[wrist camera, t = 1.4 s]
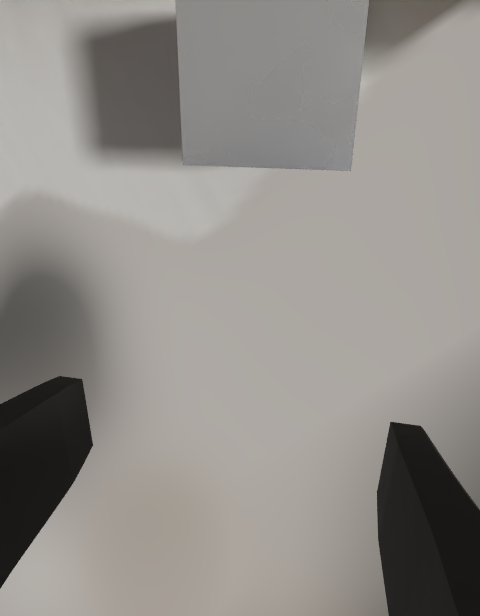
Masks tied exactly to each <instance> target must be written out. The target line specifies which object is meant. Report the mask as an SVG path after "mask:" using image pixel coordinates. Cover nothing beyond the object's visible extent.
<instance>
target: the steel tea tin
mask: <svg viewBox="0 0 480 616" xmlns="http://www.w3.org/2000/svg"><path fill="white" fill-rule="evenodd" d="M368 7H369V0H176V23H177V46H178V68H179V91H180V114H181V136H182V159H183V165H201V166H228V167H256V168H284V169H313V170H314V169H315V170H340V171H351V165H352V155H353V146H354V137H355V128H356V117H357V109H358V100H359V91H360V82H361V72H362V63H363V54H364V44H365V35H366V26H367V17H368Z"/></svg>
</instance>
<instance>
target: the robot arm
mask: <svg viewBox="0 0 480 616" xmlns="http://www.w3.org/2000/svg"><path fill="white" fill-rule="evenodd" d="M92 446H93V443H92V437H91V431H90V425H89V419H88V412H87V406H86V400H85V394H84V388H83V382H82V379H76V378H69V377H62V376H59V377H57V378H54V379H51V380H49V381H47V382H45V383H43V384H40V385H38V386H36V387H34V388H32V389H30V390H28V391H26V392H24V393H22V394H20V395H18V396H16V397H14V398H12V399H10V400H8V401H6V402H4V403H2V404H0V588H1V587H2V585H3V584H4V582H5V581H6V579H7V578H8V576H9V574H10V573H11V571H12V570H13V568H14V567H15V566H16V564H17V563H18V561H19V560H20V558H21V557H22V556H23V554H24V553H25V551H26V550H27V549H28V547H29V546H30V544H31V543H32V541H33V540H34V538H35V537H36V536H37V534H38V533H39V532H40V530H41V529H42V527H43V526H44V524H45V523H46V521H47V520H48V519H49V517H50V516H51V514H52V513H53V512H54V510H55V509H56V507H57V506H58V504H59V503H60V502H61V500H62V499H63V497H64V496H65V494H66V493H67V491H68V490H69V488H70V487H71V485H72V484H73V482H74V481H75V479H76V477H77V475H78V473H79V471H80V469H81V468H82V466H83V464H84V462H85V460H86V458H87V456H88V454H89V452H90V450H91V448H92ZM377 507H378V508H377V512H378V540H379V548H380V555H381V562H382V570H383V577H384V584H385V591H386V598H387V605H388V612H389V616H480V510H479V508H478V507H477V506H476V504H475V503H474V502H473V500H472V499H471V497H470V496H469V495H468V493H467V492H466V491H465V490H464V488H463V487H462V485H461V484H460V482H459V481H458V480H457V478H456V477H455V475H454V474H453V472H452V471H451V470H450V468H449V467H448V465H447V464H446V462H445V461H444V459H443V458H442V456H441V455H440V454H439V452H438V450H437V449H436V447H435V446H434V444H433V443H432V441H431V440H430V438H429V437H428V435H427V434H426V432H425V431H424V429H423V428H422V427H421V426H416V425H410V424H402V423H394V422H390V428H389V433H388V438H387V443H386V448H385V454H384V459H383V464H382V469H381V475H380V480H379V485H378V490H377Z"/></svg>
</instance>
